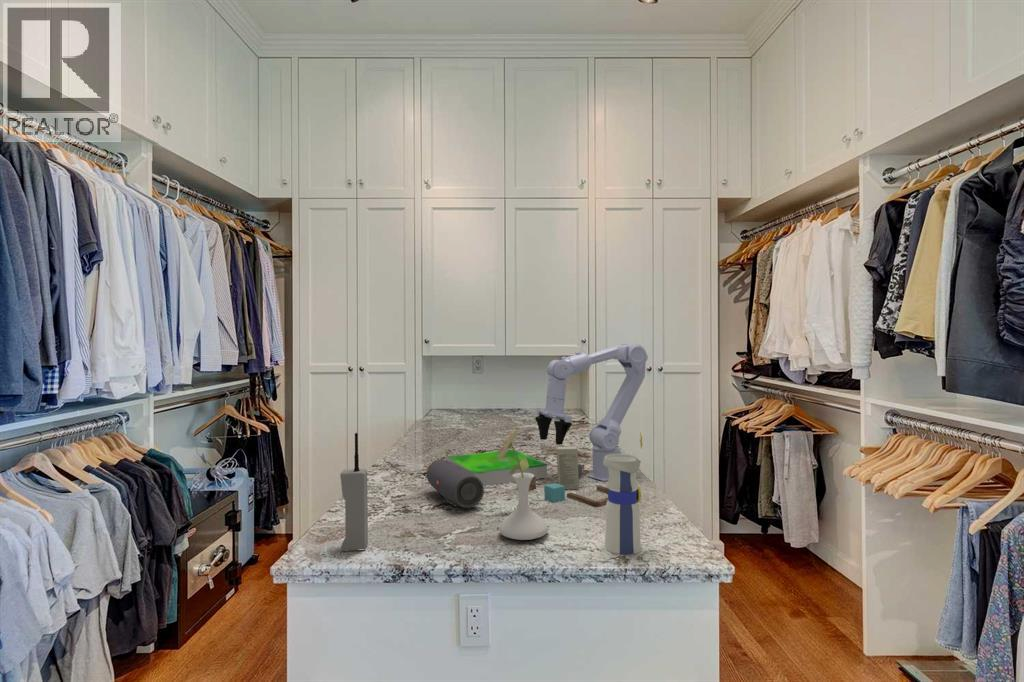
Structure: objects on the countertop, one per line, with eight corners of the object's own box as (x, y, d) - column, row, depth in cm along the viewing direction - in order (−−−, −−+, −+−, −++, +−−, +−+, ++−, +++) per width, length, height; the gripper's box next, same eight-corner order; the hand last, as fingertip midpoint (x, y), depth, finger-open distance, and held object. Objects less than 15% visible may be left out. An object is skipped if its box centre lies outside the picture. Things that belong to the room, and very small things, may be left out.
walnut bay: (600, 489, 164) (600, 485, 164) (629, 498, 154) (629, 494, 154) (566, 496, 156) (566, 493, 156) (595, 507, 147) (595, 503, 147)
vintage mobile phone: (344, 545, 121) (343, 431, 121) (367, 544, 122) (366, 431, 122) (341, 551, 118) (339, 434, 117) (364, 550, 118) (363, 434, 118)
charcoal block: (573, 474, 182) (573, 462, 182) (581, 476, 178) (581, 464, 178) (564, 476, 179) (564, 464, 179) (572, 478, 176) (572, 466, 176)
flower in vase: (519, 523, 135) (518, 420, 134) (558, 534, 127) (557, 425, 127) (483, 539, 124) (482, 428, 124) (523, 551, 117) (522, 433, 117)
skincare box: (578, 485, 168) (578, 445, 167) (578, 489, 163) (578, 448, 163) (557, 485, 168) (557, 445, 168) (557, 489, 164) (556, 448, 164)
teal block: (555, 497, 156) (555, 483, 156) (564, 500, 153) (564, 486, 153) (544, 499, 154) (544, 485, 154) (553, 503, 151) (553, 488, 151)
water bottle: (636, 539, 124) (636, 427, 123) (647, 554, 115) (646, 434, 115) (600, 539, 123) (599, 427, 123) (608, 555, 115) (607, 434, 115)
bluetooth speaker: (424, 493, 161) (424, 458, 161) (454, 488, 166) (454, 455, 165) (452, 515, 141) (452, 476, 141) (486, 509, 145) (485, 472, 145)
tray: (447, 471, 189) (447, 456, 189) (513, 463, 200) (513, 449, 200) (473, 489, 166) (473, 472, 166) (547, 479, 177) (546, 464, 177)
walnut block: (527, 487, 167) (527, 473, 167) (536, 490, 164) (535, 476, 164) (517, 489, 165) (517, 475, 165) (525, 492, 161) (525, 478, 161)
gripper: (531, 394, 176) (526, 437, 176) (561, 401, 164) (556, 446, 164) (548, 395, 180) (544, 437, 180) (578, 401, 168) (573, 446, 168)
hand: (551, 441), depth 172 cm, fingers open, 7 cm apart
